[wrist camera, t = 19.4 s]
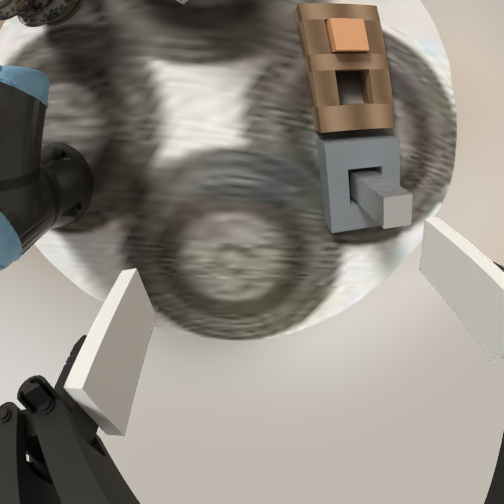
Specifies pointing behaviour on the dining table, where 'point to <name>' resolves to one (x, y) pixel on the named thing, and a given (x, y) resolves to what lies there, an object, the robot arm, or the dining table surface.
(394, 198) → the steel peg
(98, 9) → the dining table surface
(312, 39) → the socket block
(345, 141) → the block
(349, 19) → the plunger
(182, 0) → the tea box
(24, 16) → the apothecary jar
